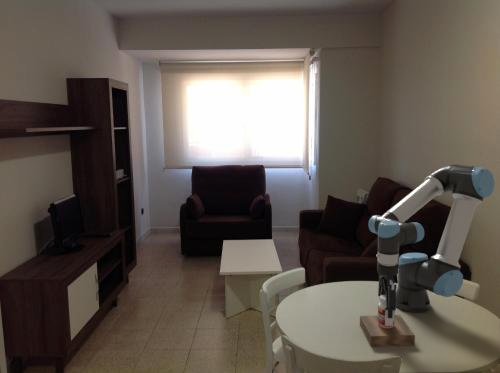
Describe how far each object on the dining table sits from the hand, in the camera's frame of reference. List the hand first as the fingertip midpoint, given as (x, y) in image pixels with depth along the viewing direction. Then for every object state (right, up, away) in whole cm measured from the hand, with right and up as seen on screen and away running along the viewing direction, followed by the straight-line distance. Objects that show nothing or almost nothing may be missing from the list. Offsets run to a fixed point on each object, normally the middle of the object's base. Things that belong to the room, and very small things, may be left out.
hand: (386, 320), depth 168 cm
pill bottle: (0, -2, 0) cm, 2 cm away
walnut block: (0, -6, +1) cm, 6 cm away
